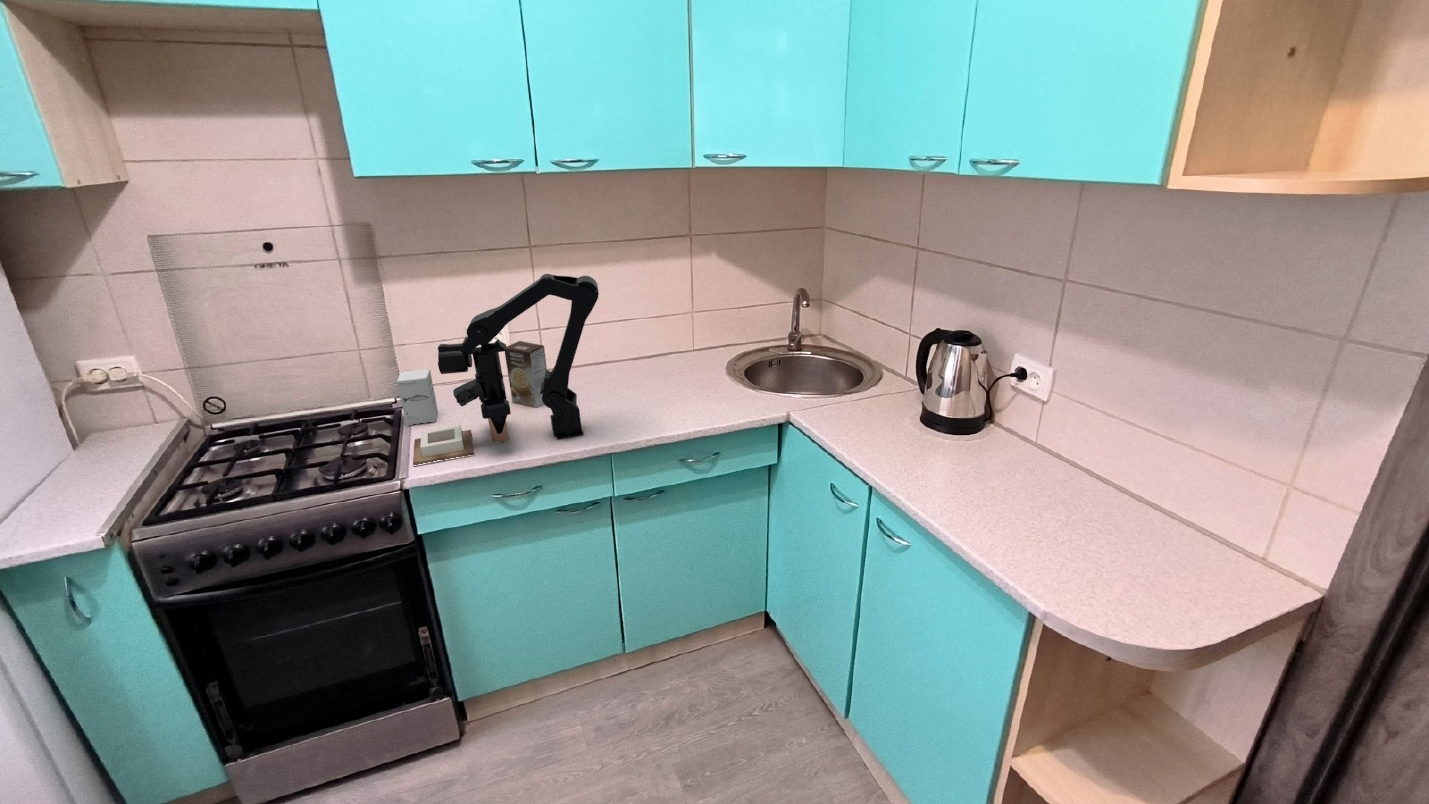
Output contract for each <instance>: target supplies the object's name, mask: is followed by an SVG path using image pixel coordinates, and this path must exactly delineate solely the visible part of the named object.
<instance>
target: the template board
mask: <svg viewBox="0 0 1429 804" xmlns="http://www.w3.org/2000/svg"><path fill="white" fill-rule="evenodd" d="M471 433H472V430H471V429H467V430H466V429H465V430H463V429H462V425H461V424H460V425H454V426H447V427H442V428H441V427H440V428H436V429H429V430H425V431H424V430H423V431H420V438H415V439H414V442H413V443H414V444H413V457H412V459H413V460H412V464H413V465H412V466H414V465H418V464H423V463H428V462H433V461H437V460H445V459H450V458H456V457H462V456H468V455H474V456H475V453H474V452H475V451H474V445H473V444H474V443H472V442H473V436H472V434H471ZM473 451H474V452H473Z"/></svg>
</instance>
